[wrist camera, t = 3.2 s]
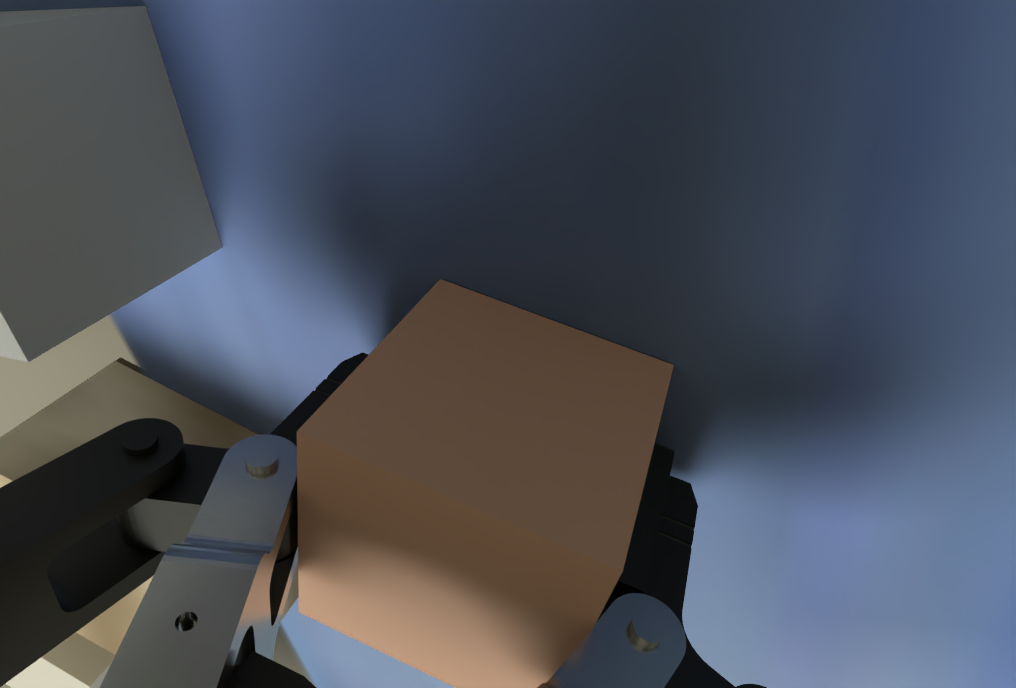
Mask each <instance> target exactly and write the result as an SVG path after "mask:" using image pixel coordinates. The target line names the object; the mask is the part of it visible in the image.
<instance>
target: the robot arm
mask: <svg viewBox="0 0 1016 688" xmlns="http://www.w3.org/2000/svg"><path fill="white" fill-rule="evenodd" d="M367 356H368V354H365V353H360V354H358V355H356V356H354V357H352V358H349V359H347V360H345V361H343V362H341V363H340V364H339V365H338V366H337V367H336V368H335V369H334V370H333V371H332V372H331V373H330V374H329V375H328V377H327V379H324V380H323V381H322V382H321V383H320V384H319V385H318V386H317V387H316V390H315V391H312V393H311V394H310V395H309V396H308V397H307V398H306V399H305V400H304V401H303V402H302V403H301V404H300V405H299V406H298V407H297V408H296V409H295V410H294V411H293V412H292V413H291V414H290V415H289V416H288V417H287V418H286V419H285V420H284V421H283V422H282V423H281V424H280V425H279V426H278V427H277V428H276V429H275V430H274V431H273V432H272V433H271V434H269V435H268V434H264V435H255V436H251V437H248V438H245V439H243V440H241V441H239V442H237V443H236V444H234V445H233V446H232V447H231V448H216V447H209V446H201V445H193V444H185V443H184V441H183V436H182V433H181V431H180V429H179V428H178V427H177V426H176V425H174V424H173V423H171V422H169V421H166V420H163V419H157V418H142V419H136V420H131V421H128V422H125V423H123V424H121V425H119V426H117V427H115V428H113V429H111V430H109V431H107V432H105V433H103V434H101V435H100V436H98V437H96V438H94V439H92V440H90V441H88V442H86V443H84V444H82V445H81V446H79V447H77V448H75V449H73V450H71V451H69V452H67V453H65V454H63V455H62V456H60V457H58V458H56V459H54V460H52V461H50V462H48V463H46V464H44V465H43V466H41V467H39V468H37V469H35V470H33V471H31V472H29V473H27V474H25V475H23V476H22V477H20V478H18V479H16V480H14V481H12V482H10V483H8V484H6V485H4V486H3V487H1V488H0V687H1V686H3V684H5V683H7V682H8V681H9V680H11V679H12V678H14V677H15V676H16V675H18V674H19V673H20V672H22V671H23V670H25V669H26V668H27V667H29V666H30V665H31V664H33V663H34V662H36V661H37V660H38V659H40V658H41V657H42V656H44V655H45V654H47V653H48V652H49V651H51V650H52V649H53V648H55V647H56V646H58V645H59V644H60V643H62V642H63V641H64V640H66V639H67V638H69V637H70V636H71V635H73V634H74V633H75V632H77V631H78V630H80V629H81V628H82V627H84V626H85V625H86V624H88V623H89V622H91V621H92V620H93V619H95V618H96V617H97V616H99V615H100V614H102V613H103V612H104V611H106V610H107V609H108V608H110V607H111V606H113V605H114V604H115V603H117V602H118V601H119V600H121V599H122V598H124V597H125V596H126V595H128V594H129V593H130V592H132V591H133V590H135V589H136V588H137V587H139V586H140V585H141V584H143V583H144V582H146V581H147V580H148V579H150V578H151V577H152V576H153V578H152V580H151V582H150V584H149V586H148V588H147V590H146V593H145V595H144V597H143V599H142V601H141V603H140V605H139V607H138V609H137V611H136V613H135V615H134V617H133V619H132V622H131V624H130V626H129V628H128V630H127V632H126V634H125V636H124V638H123V640H122V642H121V644H120V646H119V648H118V651H117V653H116V655H115V657H114V659H113V661H112V663H111V665H110V667H109V669H108V671H107V673H106V675H105V677H104V680H103V682H102V684H101V686H100V688H316V687H315V686H314V685H313V684H312V683H311V682H309V681H308V680H307V679H306V678H305V677H304V676H302V675H300V674H298V673H296V672H294V671H292V670H290V669H288V668H286V667H284V666H282V665H280V664H278V663H276V662H274V661H272V659H273V650H274V644H275V640H276V635H277V631H278V628H279V624H280V621H281V617H282V614H283V611H284V607H285V604H286V600H287V597H288V593H289V590H290V586H291V583H292V580H293V576H294V573H295V569H296V566H297V562H298V503H297V431H298V430H299V429H300V428H301V426H302V425H303V424H304V423H305V422H306V421H307V420H308V419H309V418H310V417H311V416H312V415H313V414H314V413H315V412H316V411H317V409H318V408H319V407H320V406H321V405H322V404H323V403H324V402H325V401H326V400H327V399H328V398H329V397H330V396H331V395H332V394H333V392H334V391H335V390H336V389H337V388H338V387H339V386H340V385H341V384H342V383H343V382H344V381H345V380H346V379H347V378H348V377H349V375H350V374H351V373H352V372H353V371H354V370H355V369H356V368H357V367H358V366H359V365H360V364H361V363H362V362H363V361H364V360H365V358H366V357H367ZM673 457H674V450H672V449H670V448H667V447H665V446H662V445H660V444H657V443H655V444H654V448H653V452H652V456H651V460H650V464H649V468H648V472H647V476H646V480H645V484H644V488H643V492H642V496H641V500H640V504H639V508H638V512H637V516H636V520H635V524H634V528H633V532H632V536H631V540H630V544H629V548H628V552H627V556H626V560H625V564H624V568H623V572H622V574H621V576H620V578H619V579H618V581H617V583H616V585H615V587H614V589H613V591H612V593H611V595H610V597H609V599H608V601H607V602H606V604H605V606H604V608H603V610H602V612H601V614H600V616H599V618H598V620H597V622H596V624H595V625H594V626H593V627H592V628H591V630H590V631H589V632H588V633H587V635H586V636H585V637H584V638H583V639H582V641H581V642H580V643H579V644H578V645H577V647H576V648H575V649H574V650H573V652H572V653H571V654H570V655H569V656H568V658H567V659H566V660H565V661H564V663H563V664H562V665H561V666H560V667H559V669H558V670H557V671H556V672H555V674H554V675H553V676H552V677H551V678H550V679H549V680H548V681H547V682H546V683H542V684H541V685H539V686H538V687H537V688H766V687H764V686H760V685H756V684H743V685H740V686H737V687H734V686H733V685H732V684H731V683H730V682H728V681H727V680H726V679H725V678H723V677H722V676H721V675H720V674H718V673H717V672H716V671H715V670H714V669H712V668H711V667H710V666H709V665H708V664H707V663H705V662H704V661H703V660H702V659H701V657H700V656H699V655H698V654H697V653H696V651H695V650H694V649H693V647H692V646H691V644H690V642H689V640H688V638H687V636H686V633H685V631H684V627H683V622H682V609H683V602H684V595H685V588H686V582H687V575H688V568H689V562H690V555H691V545H692V541H693V535H694V531H693V530H694V527H695V521H696V514H697V508H698V505H697V502H696V499H695V496H694V493H693V490H692V487H691V484H690V483H688V482H685V481H683V480H680V479H678V478H675V477H673V476H670V471H671V467H672V462H673Z"/></svg>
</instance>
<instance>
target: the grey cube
mask: <svg viewBox="0 0 1016 688" xmlns="http://www.w3.org/2000/svg"><path fill="white" fill-rule="evenodd" d="M220 248H222V244H221V241H220V238H219V235H218V232H217V228H216V225H215V222H214V219H213V216H212V213H211V210H210V207H209V203H208V200H207V197H206V194H205V191H204V188H203V185H202V181H201V178H200V175H199V172H198V169H197V166H196V163H195V159H194V156H193V153H192V150H191V147H190V144H189V141H188V138H187V134H186V131H185V128H184V125H183V122H182V119H181V116H180V112H179V109H178V106H177V103H176V100H175V97H174V94H173V90H172V87H171V84H170V81H169V78H168V75H167V72H166V68H165V65H164V62H163V59H162V56H161V53H160V50H159V47H158V43H157V40H156V37H155V34H154V31H153V28H152V25H151V21H150V18H149V15H148V12H147V9H146V6H131V7H105V8H80V9H55V10H29V11H4V12H0V356H1V357H5V358H10V359H16V360H20V361H25V362H29V361H31V360H33V359H34V358H36V357H38V356H40V355H41V354H42V353H45V352H46V351H48V350H50V349H51V348H53V347H55V346H56V345H58V344H59V343H61V342H63V341H65V340H67V339H68V338H70V337H72V336H73V335H75V334H77V333H78V332H80V331H82V330H83V329H85V328H87V327H89V326H90V325H92V324H94V323H95V322H97V321H99V320H100V319H102V318H104V317H105V316H107V315H109V314H111V313H112V312H114V311H116V310H117V309H119V308H121V307H122V306H124V305H126V304H127V303H129V302H131V301H133V300H134V299H136V298H138V297H139V296H141V295H143V294H144V293H146V292H148V291H149V290H151V289H153V288H155V287H156V286H158V285H160V284H161V283H163V282H165V281H166V280H168V279H170V278H171V277H173V276H175V275H177V274H178V273H180V272H182V271H183V270H185V269H187V268H188V267H190V266H192V265H193V264H195V263H197V262H199V261H200V260H202V259H204V258H205V257H207V256H209V255H210V254H212V253H214V252H215V251H217V250H219V249H220Z"/></svg>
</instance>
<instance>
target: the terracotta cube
mask: <svg viewBox="0 0 1016 688" xmlns="http://www.w3.org/2000/svg"><path fill="white" fill-rule="evenodd" d="M673 367H674V365H672V364H670V363H667V362H664V361H661V360H659V359H656V358H653V357H651V356H648V355H645V354H642V353H640V352H637V351H634V350H632V349H629V348H626V347H623V346H621V345H618V344H615V343H613V342H610V341H607V340H605V339H602V338H599V337H596V336H594V335H591V334H588V333H586V332H583V331H580V330H577V329H575V328H572V327H569V326H567V325H564V324H561V323H558V322H556V321H553V320H550V319H548V318H545V317H542V316H539V315H537V314H534V313H531V312H529V311H526V310H523V309H520V308H518V307H515V306H512V305H510V304H507V303H504V302H501V301H499V300H496V299H493V298H491V297H488V296H485V295H482V294H480V293H477V292H474V291H472V290H469V289H466V288H463V287H461V286H458V285H455V284H453V283H450V282H447V281H444V280H442V279H440V280H439V281H438V282H437V283H436V284H435V285H434V286H433V287H432V288H431V289H430V291H429V292H428V293H427V294H426V295H425V296H424V297H423V298H422V299H421V300H420V301H419V302H418V303H417V304H416V305H415V306H414V308H413V309H412V310H411V311H410V312H409V313H408V314H407V315H406V316H405V317H404V318H403V319H402V320H401V321H400V322H399V323H398V324H397V326H396V327H395V328H394V329H393V330H392V331H391V332H390V333H389V334H388V335H387V336H386V337H385V338H384V339H383V340H382V341H381V343H380V344H379V345H378V346H377V347H376V348H375V349H374V350H373V351H372V352H371V353H370V354H369V355H368V356H367V357H366V358H365V360H364V361H363V362H362V363H361V364H360V365H359V366H358V367H357V368H356V369H355V370H354V371H353V372H352V373H351V374H350V375H349V377H348V378H347V379H346V380H345V381H344V382H343V383H342V384H341V385H340V386H339V387H338V388H337V389H336V390H335V391H334V392H333V394H332V395H331V396H330V397H329V398H328V399H327V400H326V401H325V402H324V403H323V404H322V405H321V406H320V407H319V408H318V409H317V411H316V412H315V413H314V414H313V415H312V416H311V417H310V418H309V419H308V420H307V421H306V422H305V423H304V424H303V425H302V426H301V428H300V429H299V430H298V431H297V503H298V585H299V612H300V613H302V614H304V615H306V616H308V617H310V618H312V619H314V620H316V621H318V622H320V623H322V624H324V625H327V626H329V627H331V628H333V629H335V630H337V631H339V632H341V633H343V634H345V635H347V636H349V637H352V638H354V639H356V640H358V641H360V642H362V643H364V644H366V645H368V646H370V647H372V648H374V649H376V650H379V651H381V652H383V653H385V654H387V655H389V656H391V657H393V658H395V659H397V660H399V661H401V662H404V663H406V664H408V665H410V666H412V667H414V668H416V669H418V670H420V671H422V672H424V673H426V674H428V675H431V676H433V677H435V678H437V679H439V680H441V681H443V682H445V683H447V684H449V685H451V686H453V687H456V688H537V687H538V686H539V685H541V684H542V683H546V682H547V681H548V680H549V679H550V678H551V677H552V676H553V675H554V674H555V672H556V671H557V670H558V669H559V667H560V666H561V665H562V664H563V663H564V661H565V660H566V659H567V658H568V656H569V655H570V654H571V653H572V652H573V650H574V649H575V648H576V647H577V645H578V644H579V643H580V642H581V641H582V639H583V638H584V637H585V636H586V635H587V633H588V632H589V631H590V630H591V628H592V627H593V626H594V625H595V624H596V622H597V620H598V618H599V616H600V614H601V612H602V610H603V608H604V606H605V604H606V602H607V601H608V599H609V597H610V595H611V593H612V591H613V589H614V587H615V585H616V583H617V581H618V579H619V578H620V576H621V574H622V572H623V568H624V564H625V560H626V556H627V552H628V548H629V544H630V540H631V536H632V532H633V528H634V524H635V520H636V516H637V512H638V508H639V504H640V500H641V496H642V492H643V488H644V484H645V480H646V476H647V472H648V468H649V464H650V460H651V456H652V452H653V448H654V444H655V439H656V435H657V431H658V427H659V423H660V419H661V415H662V411H663V407H664V403H665V399H666V395H667V391H668V387H669V383H670V379H671V375H672V371H673Z"/></svg>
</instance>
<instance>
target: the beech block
mask: <svg viewBox="0 0 1016 688" xmlns="http://www.w3.org/2000/svg"><path fill="white" fill-rule="evenodd" d="M142 418H157V419H163V420H166V421H169V422H171V423H173V424H174V425H176V426H177V427H178V428H179V429H180V431H181V433H182V436H183V441H184V443H185V444H193V445H201V446H209V447H216V448H231V447H232V446H233V445H234V444H236V443H237V442H239V441H241V440H243V439H245V438H248V437H251V436H255V435H258V434H256V433H255V432H253V431H251V430H249V429H247V428H245V427H243V426H241V425H239V424H237V423H235V422H233V421H231V420H229V419H227V418H225V417H223V416H222V415H220V414H218V413H216V412H214V411H212V410H210V409H208V408H206V407H204V406H202V405H200V404H198V403H196V402H194V401H192V400H190V399H189V398H187V397H185V396H183V395H181V394H179V393H177V392H175V391H173V390H171V389H169V388H167V387H165V386H163V385H161V384H159V383H157V382H156V381H154V380H152V379H150V378H148V377H146V376H144V375H143V374H142V372H141V370H140V368H139V367H138V366H137V365H135V364H133V363H131V362H129V361H127V360H125V359H123V358H121V357H120V358H119V359H117V360H116V361H114V362H113V363H111V364H110V365H108V366H107V367H105V368H104V369H102V370H101V371H99V372H98V373H96V374H95V375H93V376H92V377H90V378H89V379H87V380H86V381H84V382H83V383H81V384H80V385H78V386H77V387H75V388H74V389H72V390H71V391H69V392H68V393H66V394H65V395H63V396H62V397H60V398H59V399H57V400H56V401H54V402H53V403H51V404H50V405H48V406H47V407H45V408H44V409H42V410H41V411H39V412H38V413H36V414H35V415H33V416H32V417H30V418H29V419H27V420H26V421H24V422H23V423H21V424H20V425H19V426H17V427H15V428H14V429H12V430H11V431H9V432H8V433H6V434H5V435H3V436H2V437H0V488H1V487H3V486H4V485H6V484H8V483H10V482H12V481H14V480H16V479H18V478H20V477H22V476H23V475H25V474H27V473H29V472H31V471H33V470H35V469H37V468H39V467H41V466H43V465H44V464H46V463H48V462H50V461H52V460H54V459H56V458H58V457H60V456H62V455H63V454H65V453H67V452H69V451H71V450H73V449H75V448H77V447H79V446H81V445H82V444H84V443H86V442H88V441H90V440H92V439H94V438H96V437H98V436H100V435H101V434H103V433H105V432H107V431H109V430H111V429H113V428H115V427H117V426H119V425H121V424H123V423H125V422H128V421H131V420H136V419H142ZM152 578H153V576H152V577H151V578H150V579H148V580H147V581H146V582H144V583H143V584H141V585H140V586H139V587H137V588H136V589H135V590H133V591H132V592H130V593H129V594H128V595H126V596H125V597H124V598H122V599H121V600H119V601H118V602H117V603H115V604H114V605H113V606H111V607H110V608H108V609H107V610H106V611H104V612H103V613H102V614H100V615H99V616H97V617H96V618H95V619H93V620H92V621H91V622H89V623H88V624H86V625H85V626H84V627H82V628H81V629H80V630H78V631H77V632H76V633H77V634H79V635H81V636H83V637H84V638H86V639H88V640H90V641H92V642H93V643H95V644H97V645H99V646H100V647H102V648H104V649H106V650H107V651H109V652H111V653H113V654H114V655H116V653H117V651H118V648H119V646H120V644H121V642H122V640H123V638H124V636H125V634H126V632H127V630H128V628H129V626H130V624H131V622H132V619H133V617H134V615H135V613H136V611H137V609H138V607H139V605H140V603H141V601H142V599H143V597H144V595H145V593H146V590H147V588H148V586H149V584H150V582H151V580H152ZM298 596H299V585H298V562H297V566H296V569H295V573H294V576H293V580H292V583H291V586H290V590H289V593H288V597H287V600H286V604H285V607H284V611H283V614H282V617H281V620H282V619H283V617H284V616H285V615H286V613H287V612H288V610H289V609H290V608H291V606H292V605H293V603H294V602H295V601H296V599H297V598H298ZM280 622H281V621H280Z"/></svg>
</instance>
